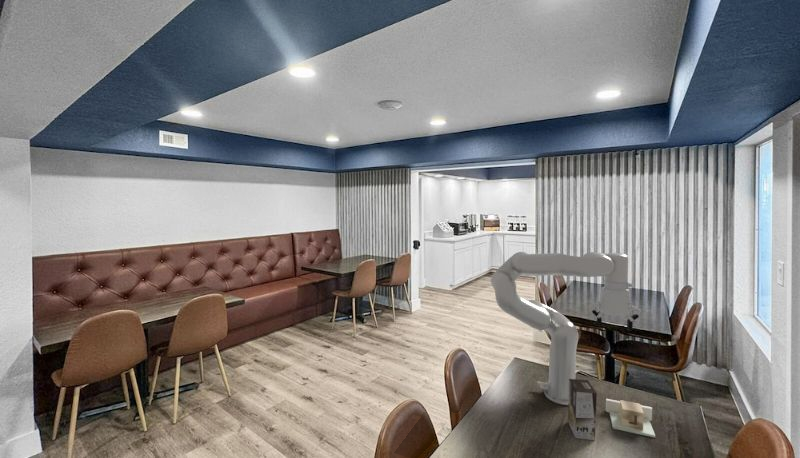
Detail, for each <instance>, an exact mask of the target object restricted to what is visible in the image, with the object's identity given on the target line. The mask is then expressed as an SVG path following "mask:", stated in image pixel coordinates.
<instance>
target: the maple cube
mask: <svg viewBox="0 0 800 458" xmlns="http://www.w3.org/2000/svg"><path fill="white" fill-rule="evenodd" d="M619 401H620V419H621V423H622V426H626V427H630V428H635V429H640V430H643V419H644V413H643V410H642V407H641V405H642V404H641V403H638V402H634V401H627V400H623V399H620V400H619Z"/></svg>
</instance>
